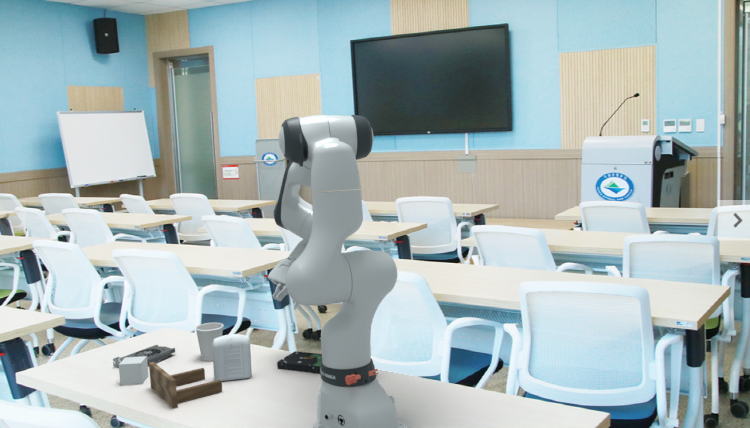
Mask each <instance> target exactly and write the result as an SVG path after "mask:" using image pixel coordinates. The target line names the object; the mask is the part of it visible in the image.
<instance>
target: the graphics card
mask: <svg viewBox="0 0 750 428" xmlns="http://www.w3.org/2000/svg"><path fill="white" fill-rule="evenodd" d="M175 353H176V347H172V348H171V347H168V346H161V345H160V346H159V344H155V345H152V346H149V347H146V348H144V349H141V350H138V351H136V352H134V353H133V352H132V353H129V354H127V355H125V356H122V357H119V356H117V357H114V358H112V361H113V362H112V365H113V369H115V368H118V369H119V364H120V363H121V361H122V360H123V359H124V358H125V357H142V356H147V364H148V368H149V363H151V362H154V363H155V364H157V363H158V362H160V361H163V360H165V359H167V358H169V356H171V355H172V354H175Z"/></svg>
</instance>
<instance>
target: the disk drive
mask: <svg viewBox="0 0 750 428" xmlns="http://www.w3.org/2000/svg"><path fill="white" fill-rule="evenodd" d="M276 362H277V363H276V366H277V370H283V371H292V372H301V373H310V374H318V375H321V372H320V367H321V362H322V353H316V352H308V351H296V350H295V351H293V352H291V353H290V354H287V355H286V356H284V358H283V359H279V360H278V361H276Z"/></svg>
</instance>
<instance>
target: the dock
mask: <svg viewBox="0 0 750 428" xmlns="http://www.w3.org/2000/svg"><path fill="white" fill-rule="evenodd" d="M148 366H149V367H148V371H149V381H150V388H151V390H152V391H154V392H155V393H156V394H157V395H158V396H159V397H160V398H161V399H162V400H163V401H164V402H165V403H167V404H168V405H169V406H170V407H171V408H172V409H175V408H176V409H177V408H178V407H179V405H178V404H181V403H186V402H190V401H192V400H198V399H201V398H203V397H204V398H205V397H208V396H212V395H215V394H219V393H223V381H221V380H216V381H215V380H213V381H209V382H205V383H201V384H197V385H194V386H189V387H185V388H180V389H177V387H180V386H184V385H187V384H188V385H189V384H193V383H195V382H196V383H197V382H200V381H203V380H204V381H205V380H206V373H205V372H206V371H205V368H204V367H199V368H196V369H192V370H188V371H182V372H179V373H174V374H171V375H170V374H169V373H168V372H167V371H166V370H164V369H163V368H162V367H161V366H159V365H158V364H157V363H154V362H151V363H149V365H148Z"/></svg>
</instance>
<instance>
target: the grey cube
mask: <svg viewBox="0 0 750 428" xmlns="http://www.w3.org/2000/svg"><path fill="white" fill-rule="evenodd" d="M120 362H121V363H120V364H119V368H118V374H119V385H120V386H132V385H133V386H134V385H143V384H144V383H145V381H146V380H147V379H149V367H148V366H149V365H148V364H147V356H142V357H125V358H124V359H123V360H122V361H121V360H120Z"/></svg>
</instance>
